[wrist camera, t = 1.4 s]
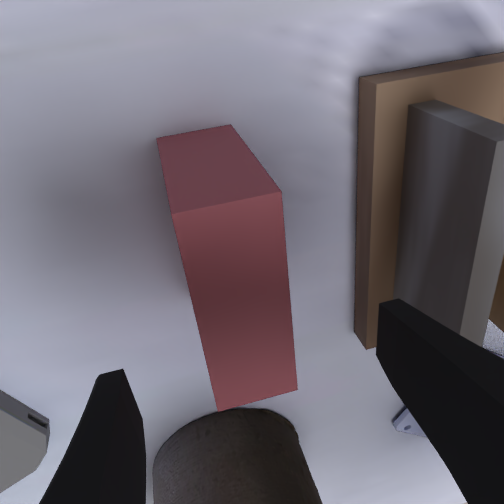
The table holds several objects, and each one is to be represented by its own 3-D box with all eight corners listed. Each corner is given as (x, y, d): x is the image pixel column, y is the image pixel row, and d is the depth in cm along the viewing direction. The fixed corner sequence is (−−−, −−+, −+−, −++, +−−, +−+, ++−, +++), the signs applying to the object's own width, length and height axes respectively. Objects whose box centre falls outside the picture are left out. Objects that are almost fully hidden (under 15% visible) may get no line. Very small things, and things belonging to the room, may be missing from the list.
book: (230, 124, 18) (281, 191, 12) (252, 283, 22) (297, 389, 16) (156, 137, 17) (171, 214, 11) (193, 297, 22) (217, 411, 16)
